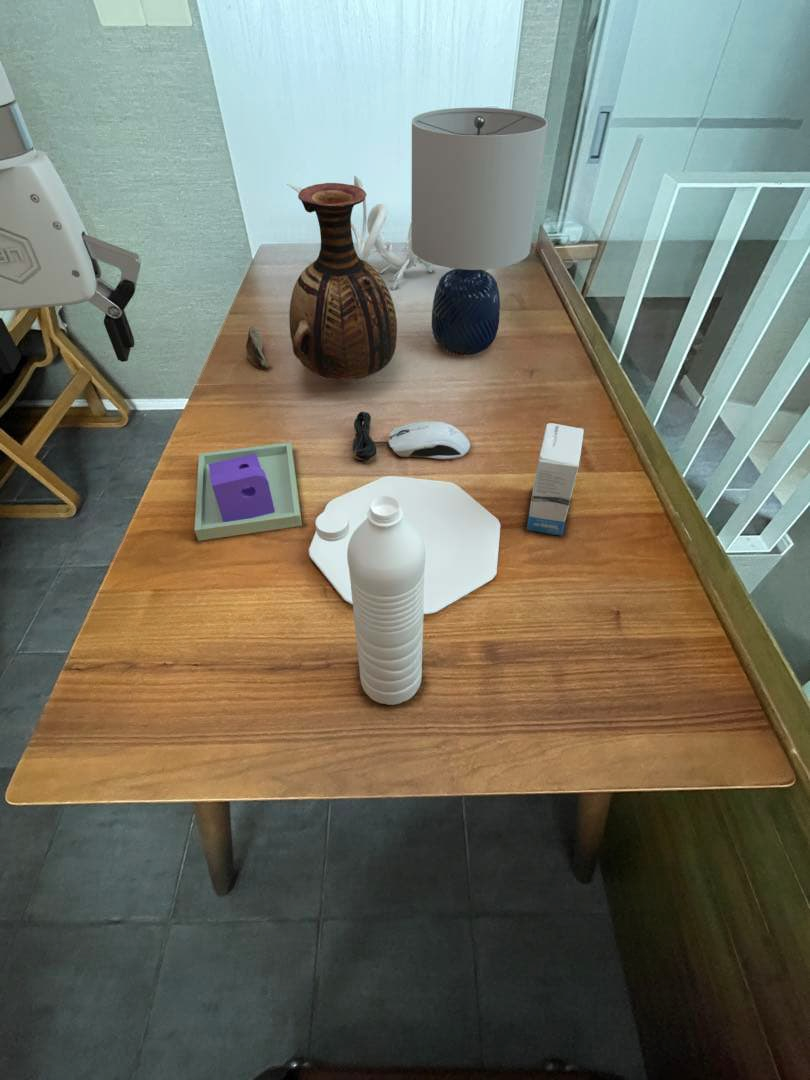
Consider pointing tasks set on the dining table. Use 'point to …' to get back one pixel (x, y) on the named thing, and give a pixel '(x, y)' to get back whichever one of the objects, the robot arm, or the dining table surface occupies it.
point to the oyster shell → (255, 349)
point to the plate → (446, 529)
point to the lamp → (473, 211)
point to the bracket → (241, 488)
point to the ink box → (555, 478)
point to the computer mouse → (412, 440)
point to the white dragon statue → (374, 227)
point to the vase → (340, 296)
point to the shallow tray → (281, 484)
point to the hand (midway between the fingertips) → (70, 360)
